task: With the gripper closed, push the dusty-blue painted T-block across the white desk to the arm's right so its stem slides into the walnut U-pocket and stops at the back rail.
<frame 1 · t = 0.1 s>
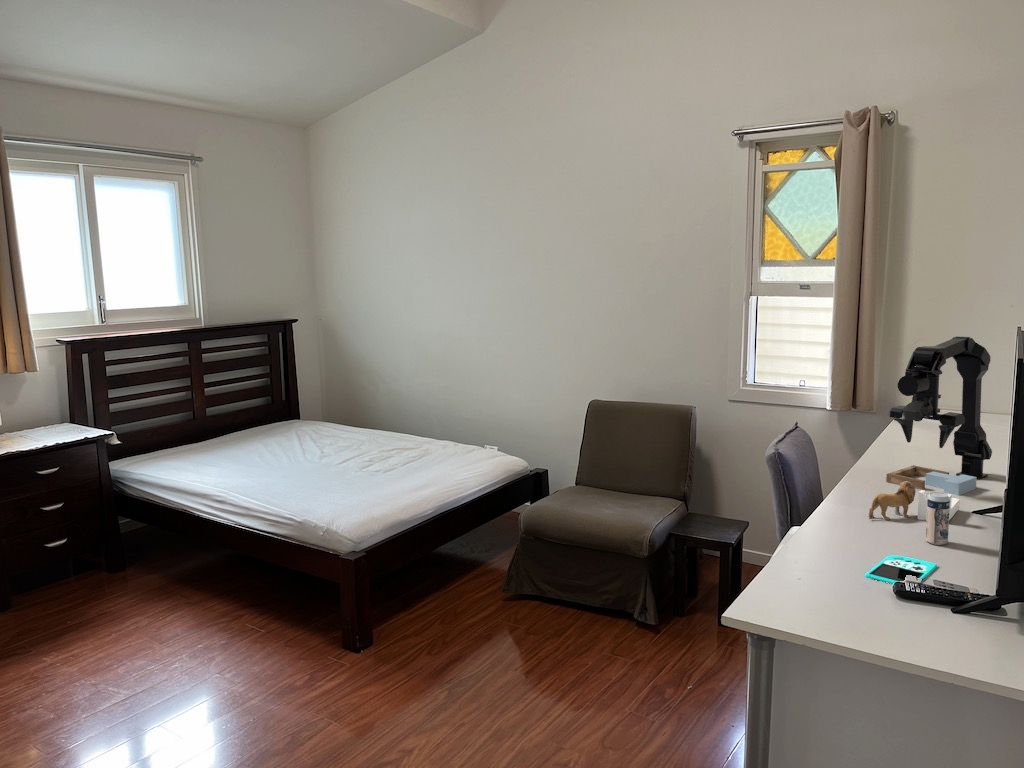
hand: (924, 445, 215), 15 cm above the table, fingers open, 9 cm apart
pocket: (919, 481, 229), on the table
bracket: (938, 516, 200), on the table
lion figurine: (891, 516, 200), on the table
handheld game console: (901, 575, 165), on the table
t block: (960, 490, 219), on the table
printed cylindrical canister: (936, 543, 181), on the table
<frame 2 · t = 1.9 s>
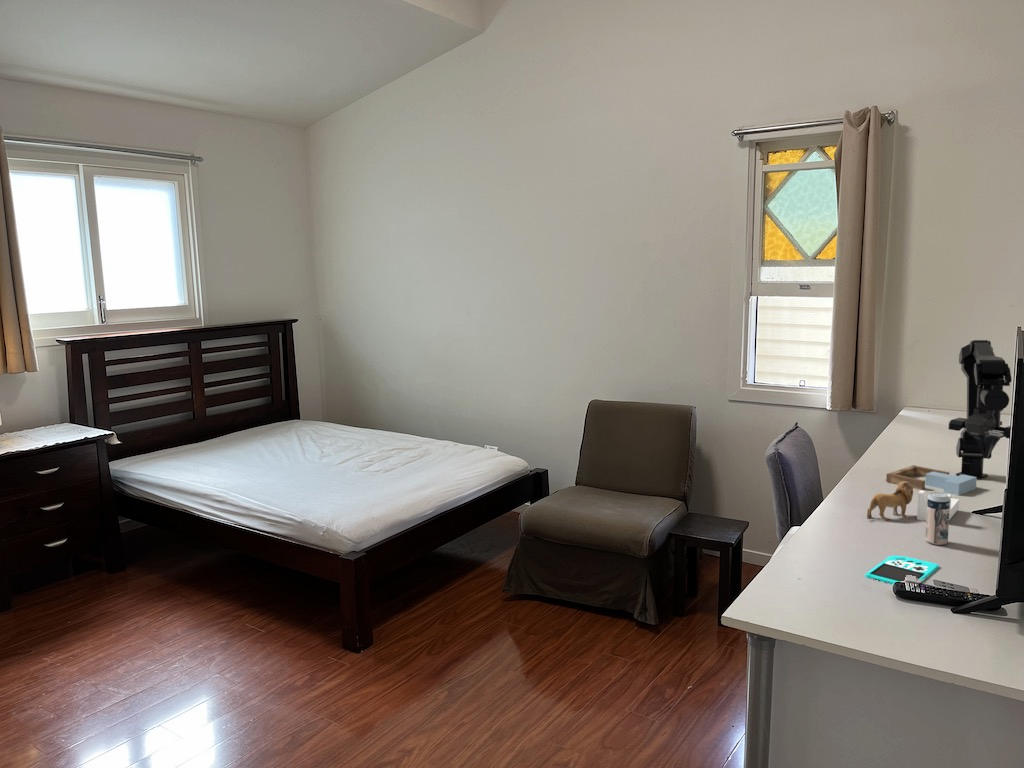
hand: (985, 458, 212), 11 cm above the table, fingers closed
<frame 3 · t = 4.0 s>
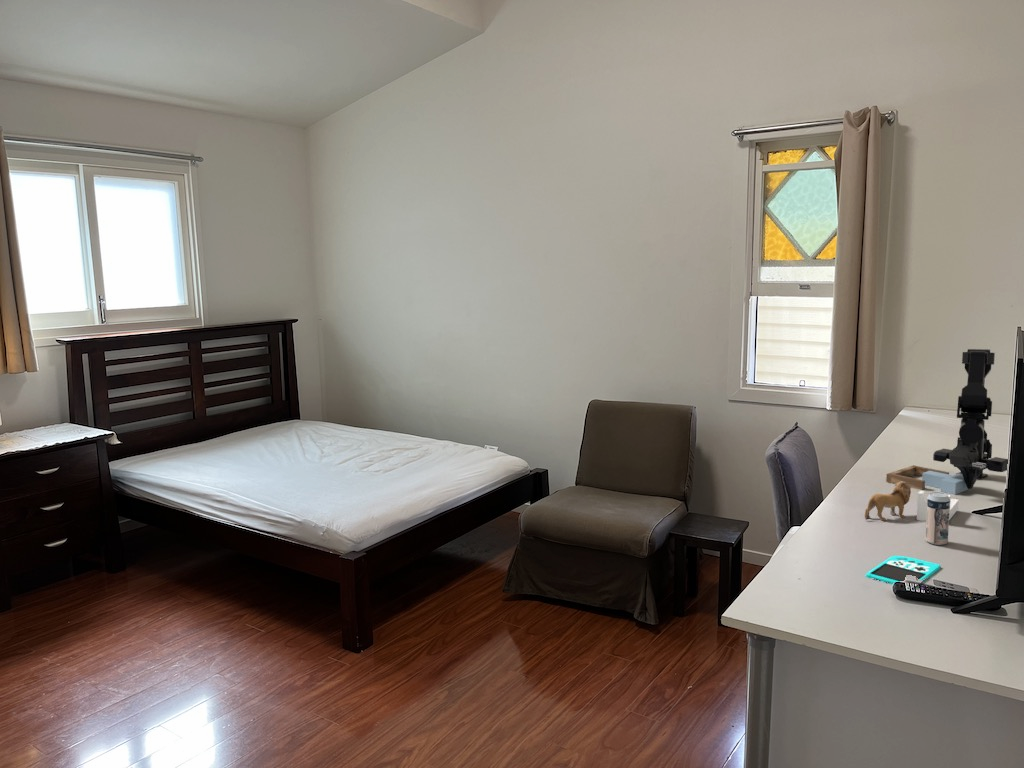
hand: (969, 488, 217), 1 cm above the table, fingers closed
t block: (956, 489, 220), on the table, touching gripper
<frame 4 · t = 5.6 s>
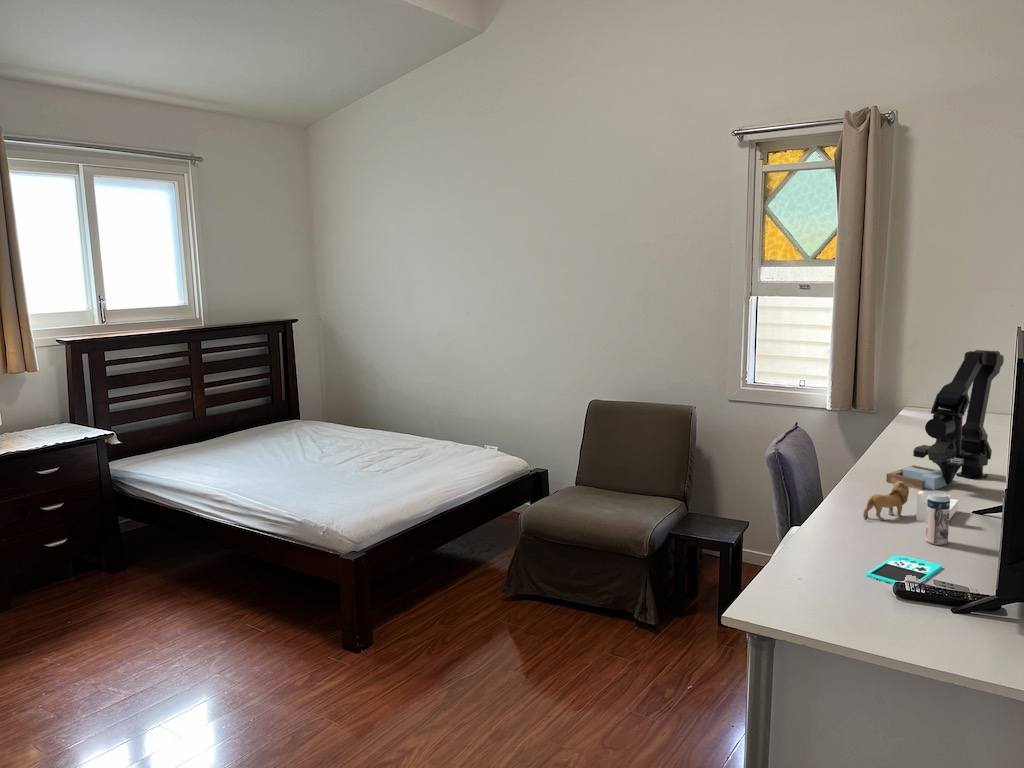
hand: (948, 484, 222), 1 cm above the table, fingers closed
t block: (935, 485, 225), on the table, touching gripper
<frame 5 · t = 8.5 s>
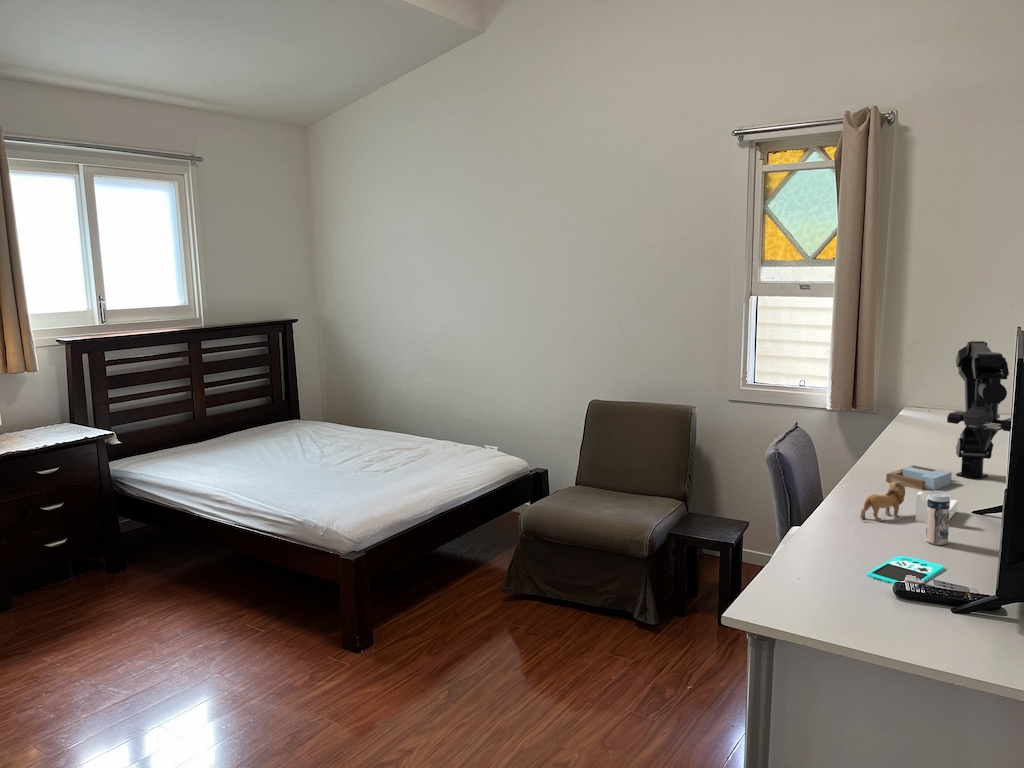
hand: (983, 450, 216), 12 cm above the table, fingers closed
t block: (935, 485, 225), on the table
at the end: t block 0.2 cm from the target spot on the pocket, point 0.0 cm above the pocket's base; t block tilted 0°; t block moved 7.0 cm from its start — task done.
